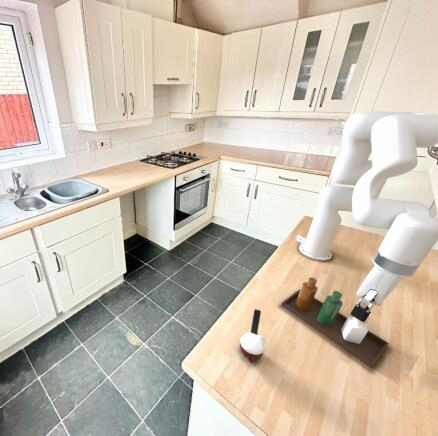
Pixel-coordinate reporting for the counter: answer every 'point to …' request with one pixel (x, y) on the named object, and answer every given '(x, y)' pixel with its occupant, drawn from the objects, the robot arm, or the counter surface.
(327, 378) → the counter surface
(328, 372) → the counter surface
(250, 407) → the counter surface
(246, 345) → the cocoa
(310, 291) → the amber bottle
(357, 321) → the salt shaker
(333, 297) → the green bottle
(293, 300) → the tray
